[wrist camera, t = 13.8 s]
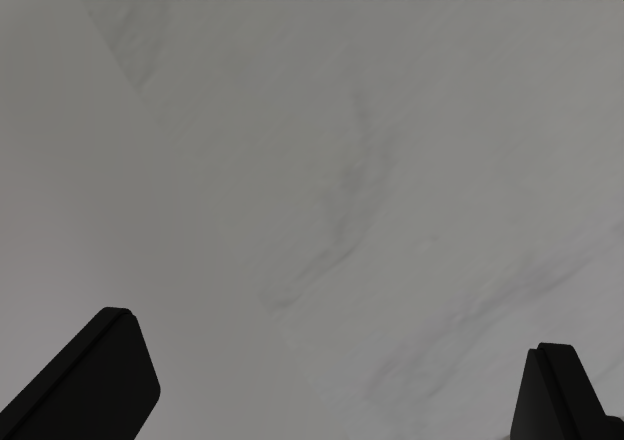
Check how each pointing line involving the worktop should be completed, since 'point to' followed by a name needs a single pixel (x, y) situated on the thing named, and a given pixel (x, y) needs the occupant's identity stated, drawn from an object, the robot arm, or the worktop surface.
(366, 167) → the worktop surface
